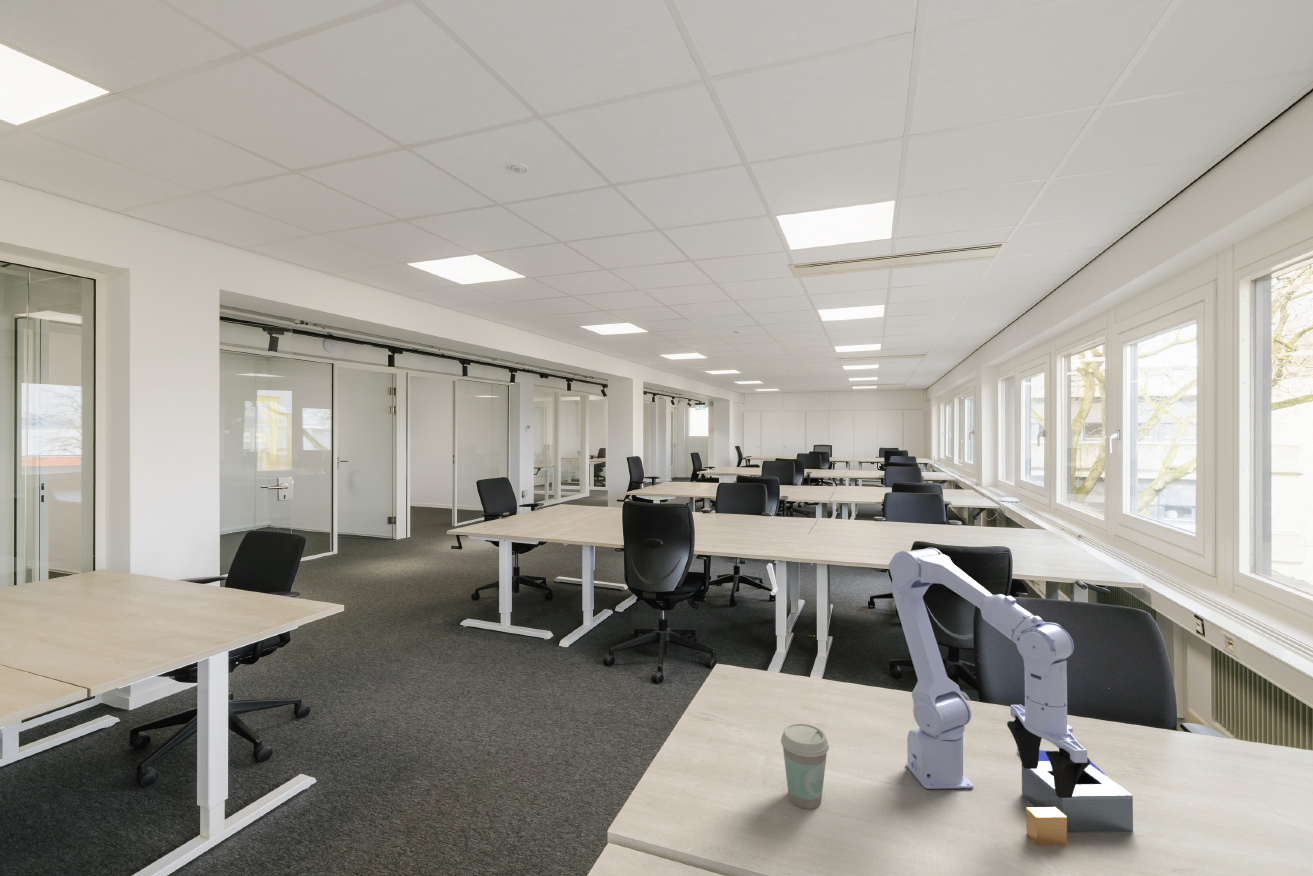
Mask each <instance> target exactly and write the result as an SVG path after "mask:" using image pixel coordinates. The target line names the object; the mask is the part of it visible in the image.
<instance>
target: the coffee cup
mask: <svg viewBox="0 0 1313 876" xmlns="http://www.w3.org/2000/svg"><path fill="white" fill-rule="evenodd" d="M780 738H781V739H780V744H781V745H782V749H783V759H784V768H785V776H786V785H787V786H786V787H787V793H788V799H789V801H790V802H791V803H792V804H793V805H795V806H797V807H798V808H801V809H805V810H806V809H807V810H812V809H816V808H818V807H820V805H821V804H822V799H823V790H824V782H825V781H824V780H825V772H826V763H827V755H828V751H829V750H830V746H829V740H828V739H827V736H826V733H825V732H824V731H823V730H822V729H821V728H819V727H817V726H816V725H814V724H809V723H804V722H803V723H801V722H800V723H798V722H797V723H796V722H795V723H791V724H788V725H786V726H785V728H784V730H783V733H782V734H781V737H780Z"/></svg>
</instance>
